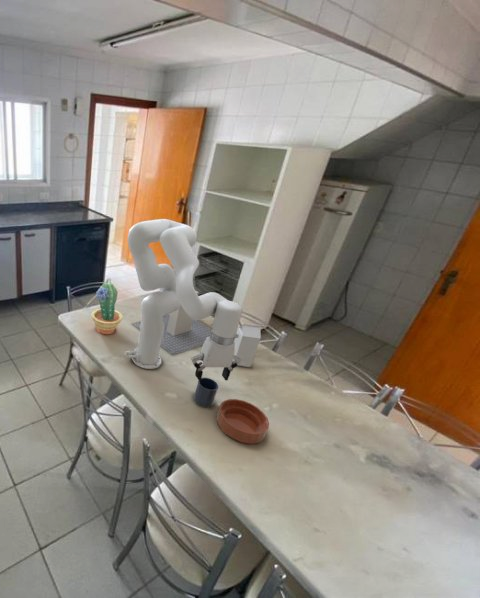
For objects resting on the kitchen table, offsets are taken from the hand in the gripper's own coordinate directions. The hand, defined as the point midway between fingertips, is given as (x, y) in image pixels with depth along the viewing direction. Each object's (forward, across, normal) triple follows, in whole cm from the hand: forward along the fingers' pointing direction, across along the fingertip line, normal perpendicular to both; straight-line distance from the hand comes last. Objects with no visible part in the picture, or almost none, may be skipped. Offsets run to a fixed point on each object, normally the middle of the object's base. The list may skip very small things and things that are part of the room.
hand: (211, 377), depth 116 cm
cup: (+11, 0, -1) cm, 11 cm away
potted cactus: (+10, +31, -50) cm, 60 cm away
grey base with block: (+10, -6, -50) cm, 51 cm away
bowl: (+11, -8, +11) cm, 18 cm away
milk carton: (+11, -26, -25) cm, 37 cm away
